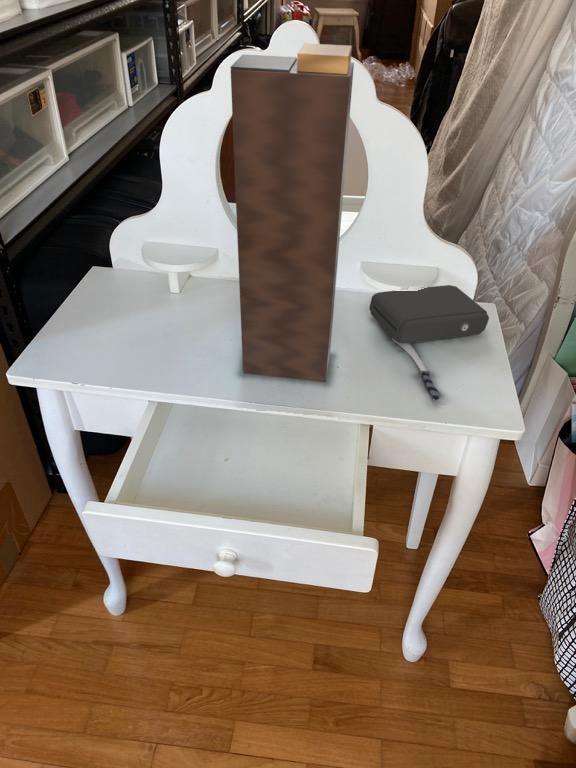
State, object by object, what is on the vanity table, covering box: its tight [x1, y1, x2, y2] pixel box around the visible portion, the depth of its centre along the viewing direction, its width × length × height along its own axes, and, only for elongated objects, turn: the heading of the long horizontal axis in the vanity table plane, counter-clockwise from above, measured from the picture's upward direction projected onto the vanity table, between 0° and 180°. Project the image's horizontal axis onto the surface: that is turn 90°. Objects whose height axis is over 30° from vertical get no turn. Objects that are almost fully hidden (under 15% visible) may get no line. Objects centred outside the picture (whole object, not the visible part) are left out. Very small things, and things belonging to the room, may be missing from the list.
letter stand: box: [230, 42, 355, 383], centre depth 66 cm, size 11×6×38 cm, turn 82°
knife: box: [390, 335, 442, 401], centre depth 79 cm, size 19×2×1 cm, turn 15°
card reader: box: [368, 284, 490, 344], centre depth 83 cm, size 9×4×15 cm
